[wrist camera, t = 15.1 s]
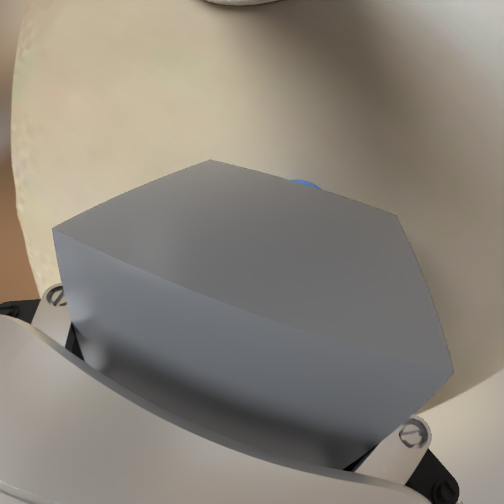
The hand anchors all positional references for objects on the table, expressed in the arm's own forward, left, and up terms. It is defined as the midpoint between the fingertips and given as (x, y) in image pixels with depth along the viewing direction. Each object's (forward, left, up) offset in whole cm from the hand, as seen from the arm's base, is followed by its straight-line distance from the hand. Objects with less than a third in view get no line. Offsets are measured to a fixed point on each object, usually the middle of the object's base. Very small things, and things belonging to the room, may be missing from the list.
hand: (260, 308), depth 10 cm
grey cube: (0, 0, -3) cm, 3 cm away
